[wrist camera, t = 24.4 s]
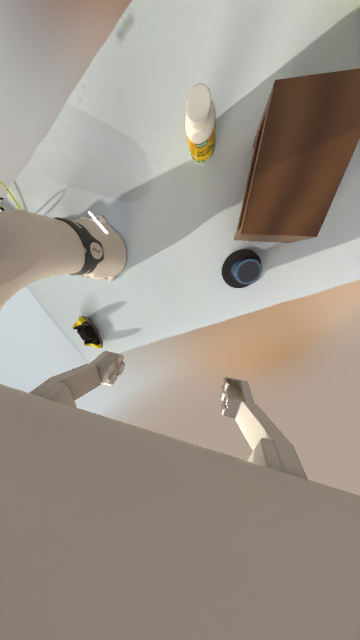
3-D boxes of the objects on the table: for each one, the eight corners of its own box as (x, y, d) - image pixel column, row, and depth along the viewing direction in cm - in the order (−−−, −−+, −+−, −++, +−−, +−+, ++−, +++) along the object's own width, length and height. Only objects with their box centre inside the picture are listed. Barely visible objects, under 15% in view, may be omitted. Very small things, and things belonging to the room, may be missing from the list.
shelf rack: (233, 240, 35) (240, 233, 26) (254, 138, 27) (275, 79, 18) (288, 242, 33) (316, 236, 24) (328, 133, 25) (392, 63, 16)
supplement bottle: (208, 122, 28) (206, 61, 19) (219, 151, 29) (222, 106, 20) (186, 145, 30) (175, 100, 21) (197, 171, 31) (192, 139, 23)
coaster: (218, 285, 40) (218, 286, 40) (226, 248, 36) (226, 248, 36) (254, 289, 39) (254, 289, 38) (266, 250, 34) (266, 250, 34)
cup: (229, 278, 38) (232, 283, 31) (233, 258, 36) (238, 258, 29) (248, 280, 38) (257, 285, 30) (254, 259, 35) (265, 259, 28)
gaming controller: (92, 312, 55) (76, 317, 59) (80, 317, 50) (63, 323, 54) (110, 342, 60) (94, 345, 63) (101, 349, 55) (84, 352, 59)
